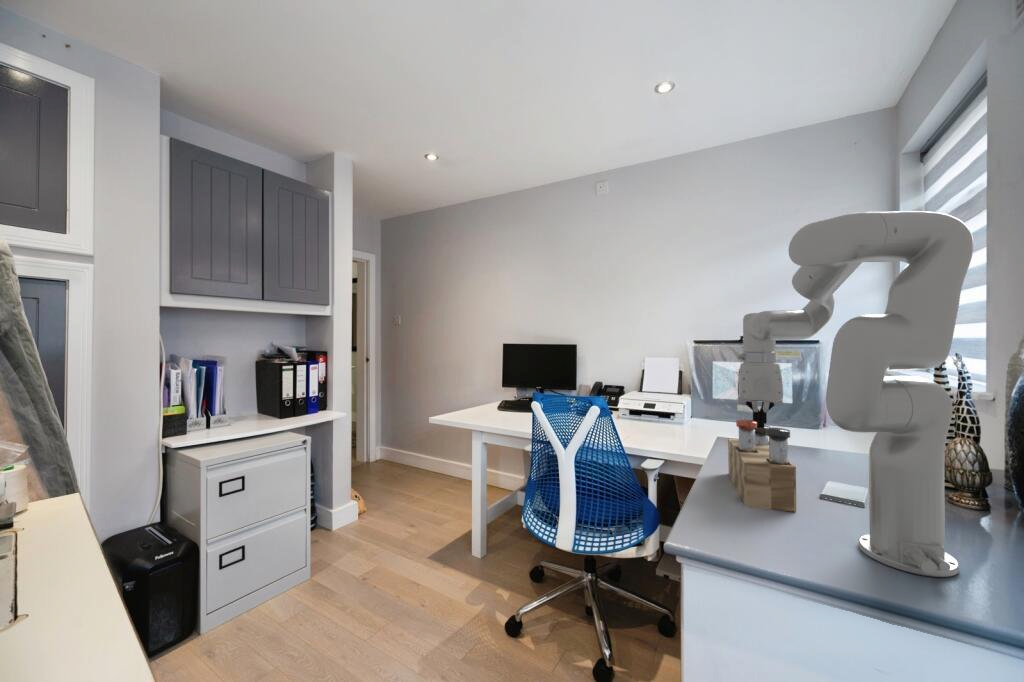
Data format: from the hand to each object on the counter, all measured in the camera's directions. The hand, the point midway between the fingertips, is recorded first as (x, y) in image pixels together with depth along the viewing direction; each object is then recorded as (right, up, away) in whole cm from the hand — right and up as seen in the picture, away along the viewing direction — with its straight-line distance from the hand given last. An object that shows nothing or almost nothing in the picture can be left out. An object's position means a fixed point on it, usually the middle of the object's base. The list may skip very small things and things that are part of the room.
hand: (759, 425), depth 112 cm
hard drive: (+14, -15, -11) cm, 23 cm away
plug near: (-6, -9, -17) cm, 20 cm away
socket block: (-5, -15, -8) cm, 17 cm away
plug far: (0, -12, 0) cm, 12 cm away
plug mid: (-7, -9, -7) cm, 14 cm away
